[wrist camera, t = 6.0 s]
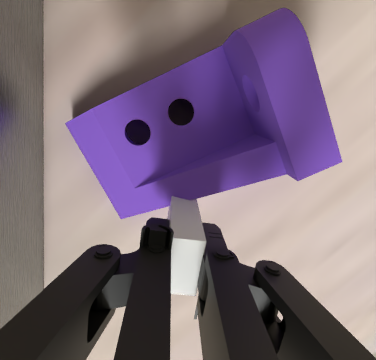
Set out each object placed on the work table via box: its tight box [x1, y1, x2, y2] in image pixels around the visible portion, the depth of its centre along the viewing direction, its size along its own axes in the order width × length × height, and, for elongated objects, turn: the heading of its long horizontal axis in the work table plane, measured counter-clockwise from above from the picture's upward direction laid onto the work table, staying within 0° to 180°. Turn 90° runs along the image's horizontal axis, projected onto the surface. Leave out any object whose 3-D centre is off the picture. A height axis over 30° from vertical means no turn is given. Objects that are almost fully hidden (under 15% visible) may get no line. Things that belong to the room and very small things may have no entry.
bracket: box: [65, 8, 342, 219], centre depth 14 cm, size 12×7×7 cm, turn 114°
